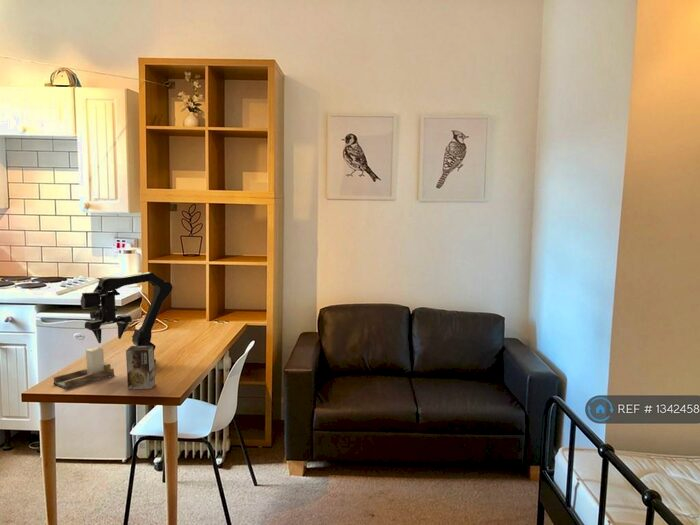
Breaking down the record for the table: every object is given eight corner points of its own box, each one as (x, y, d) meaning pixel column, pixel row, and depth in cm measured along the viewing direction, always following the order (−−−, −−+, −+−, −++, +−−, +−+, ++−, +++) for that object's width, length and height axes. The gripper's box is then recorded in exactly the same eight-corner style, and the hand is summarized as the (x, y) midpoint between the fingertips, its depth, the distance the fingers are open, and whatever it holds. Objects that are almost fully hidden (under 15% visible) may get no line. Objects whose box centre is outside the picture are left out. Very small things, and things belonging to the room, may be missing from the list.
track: (101, 371, 223) (100, 360, 223) (114, 375, 218) (113, 364, 217) (53, 384, 207) (53, 372, 206) (66, 389, 201) (65, 376, 201)
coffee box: (155, 383, 208) (154, 345, 206) (150, 389, 202) (148, 349, 200) (133, 383, 208) (131, 345, 206) (126, 389, 202) (125, 349, 200)
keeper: (98, 371, 219) (97, 347, 218) (104, 373, 217) (103, 348, 216) (87, 374, 215) (85, 349, 214) (92, 376, 213) (91, 351, 212)
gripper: (117, 300, 234) (119, 334, 236) (76, 307, 219) (78, 342, 221) (131, 303, 228) (133, 337, 230) (91, 310, 213) (92, 346, 214)
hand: (109, 341), depth 224 cm, fingers open, 9 cm apart
